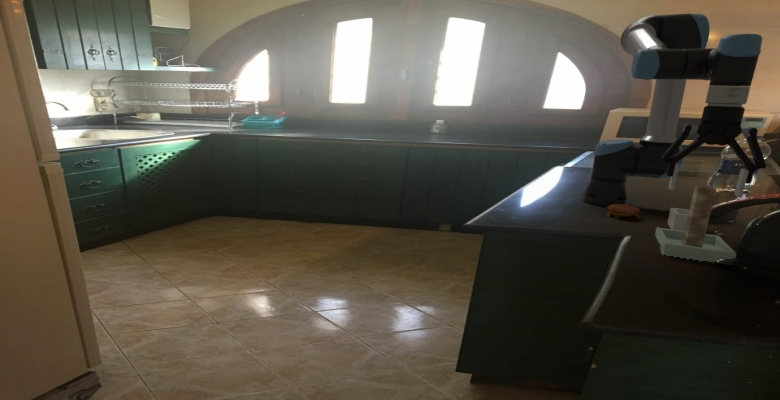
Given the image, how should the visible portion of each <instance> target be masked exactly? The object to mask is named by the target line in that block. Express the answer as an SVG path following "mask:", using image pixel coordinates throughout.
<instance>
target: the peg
mask: <svg viewBox="0 0 780 400" xmlns="http://www.w3.org/2000/svg"><path fill="white" fill-rule="evenodd" d="M716 191H717V188H716V187H715V186H713V185H706V184H705V185H703V184H697V183H696V184H695V185H694V189H693V192H692V197H691V201H690V205H689V209H688V210H689V214H688V218H687V223H686V227H685V232H684V236H683V240H682V244H683V245H688V246H694V247H701V248H702V246H703V242H704V238H705V234H707V230H708V225H709V221H710V217H711V212H712V209H713V204H714V201H715V196H716Z"/></svg>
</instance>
